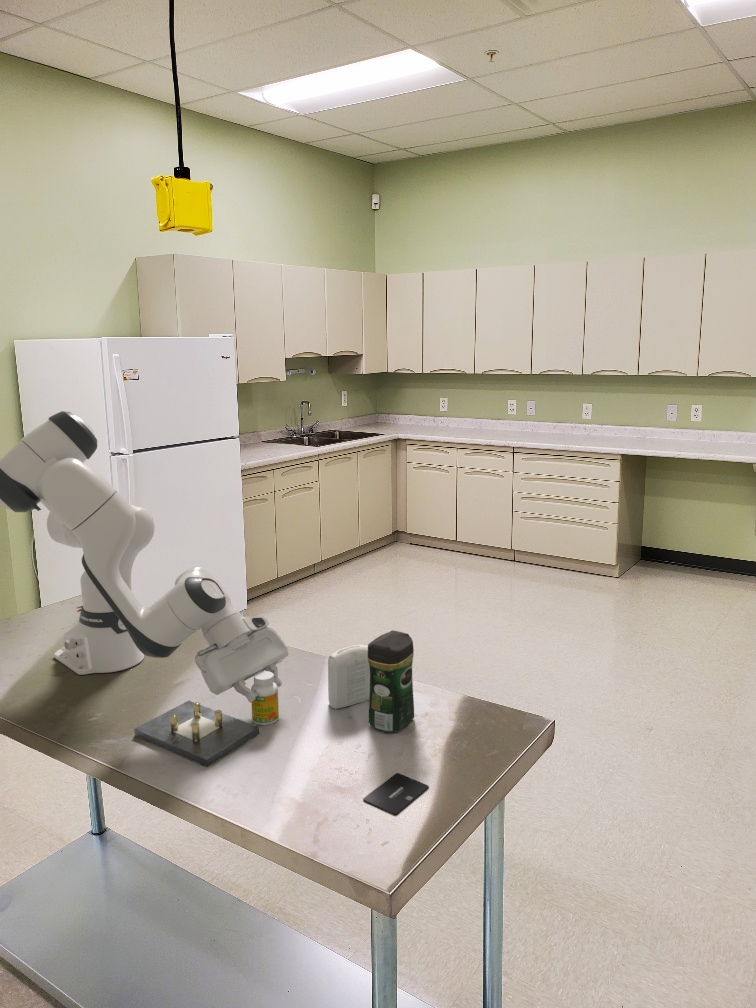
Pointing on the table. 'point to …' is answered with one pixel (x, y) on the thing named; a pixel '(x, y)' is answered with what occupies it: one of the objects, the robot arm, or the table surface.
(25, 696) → the table surface
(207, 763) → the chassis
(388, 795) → the solid state drive
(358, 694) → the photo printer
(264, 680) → the supplement bottle
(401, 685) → the coffee jar
